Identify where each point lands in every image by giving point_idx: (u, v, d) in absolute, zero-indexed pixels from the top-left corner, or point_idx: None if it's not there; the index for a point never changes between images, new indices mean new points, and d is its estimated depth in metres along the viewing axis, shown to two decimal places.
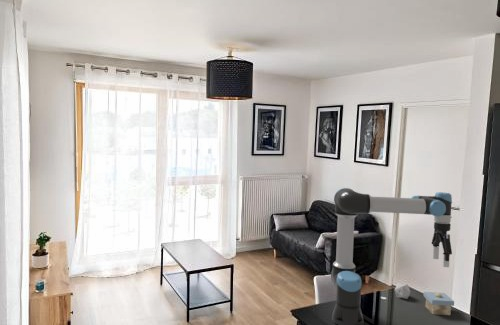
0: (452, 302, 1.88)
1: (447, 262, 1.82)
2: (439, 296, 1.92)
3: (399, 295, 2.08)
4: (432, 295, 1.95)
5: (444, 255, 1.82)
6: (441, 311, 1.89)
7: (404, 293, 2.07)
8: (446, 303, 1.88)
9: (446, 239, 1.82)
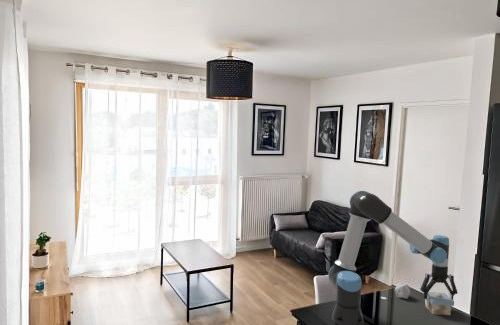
0: (452, 302, 1.88)
1: (426, 300, 1.93)
2: (439, 296, 1.92)
3: (399, 295, 2.08)
4: (432, 295, 1.95)
5: None
6: (441, 311, 1.89)
7: (404, 293, 2.07)
8: (446, 303, 1.88)
9: (426, 278, 1.94)
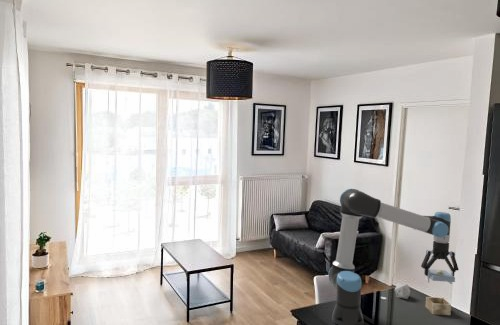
0: (453, 278, 1.87)
1: (427, 277, 1.93)
2: (440, 273, 1.92)
3: (399, 295, 2.08)
4: (433, 271, 1.95)
5: None
6: (441, 311, 1.89)
7: (404, 293, 2.07)
8: (447, 279, 1.87)
9: (427, 254, 1.93)
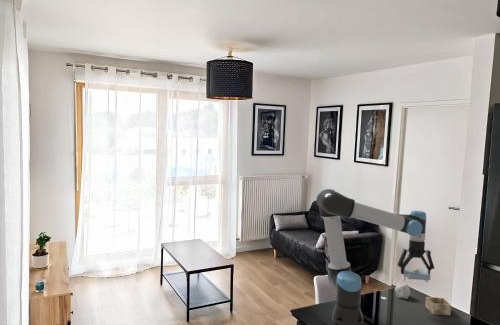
0: (429, 277, 1.88)
1: (403, 275, 1.93)
2: (416, 271, 1.92)
3: (399, 295, 2.08)
4: (409, 270, 1.95)
5: None
6: (441, 311, 1.89)
7: (404, 293, 2.07)
8: (422, 277, 1.88)
9: (403, 253, 1.94)
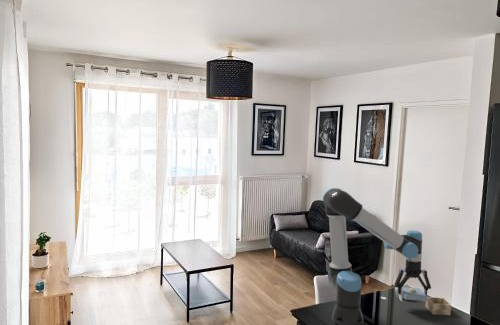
0: (426, 297, 1.88)
1: (400, 295, 1.94)
2: (413, 291, 1.92)
3: None
4: (406, 290, 1.96)
5: None
6: (441, 311, 1.89)
7: None
8: (419, 298, 1.88)
9: (400, 273, 1.94)
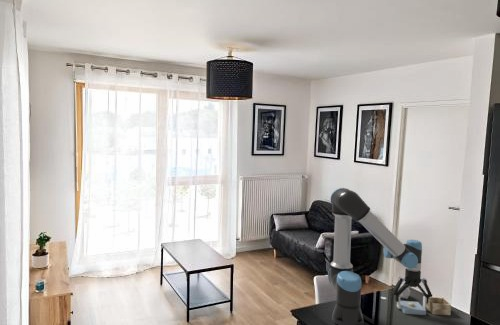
0: (424, 312, 1.88)
1: (398, 303, 1.94)
2: (412, 305, 1.93)
3: (399, 295, 2.08)
4: (405, 304, 1.96)
5: None
6: (441, 311, 1.89)
7: (404, 293, 2.07)
8: (418, 312, 1.89)
9: (399, 281, 1.94)
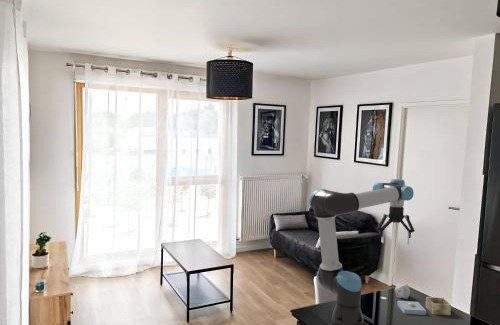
0: (424, 312, 1.88)
1: (382, 238, 2.07)
2: (412, 305, 1.93)
3: (399, 295, 2.08)
4: (405, 304, 1.96)
5: None
6: (441, 311, 1.89)
7: (404, 293, 2.07)
8: (418, 312, 1.89)
9: (383, 217, 2.08)
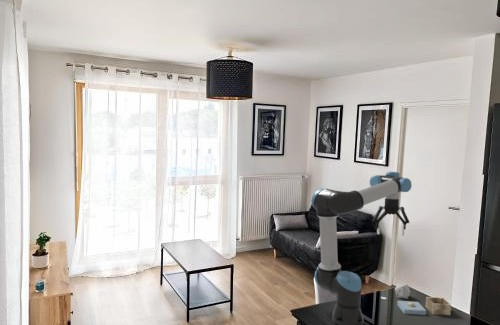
0: (424, 312, 1.88)
1: (378, 229, 2.11)
2: (412, 305, 1.93)
3: (399, 295, 2.08)
4: (405, 304, 1.96)
5: None
6: (441, 311, 1.89)
7: (404, 293, 2.07)
8: (418, 312, 1.89)
9: (379, 209, 2.11)
